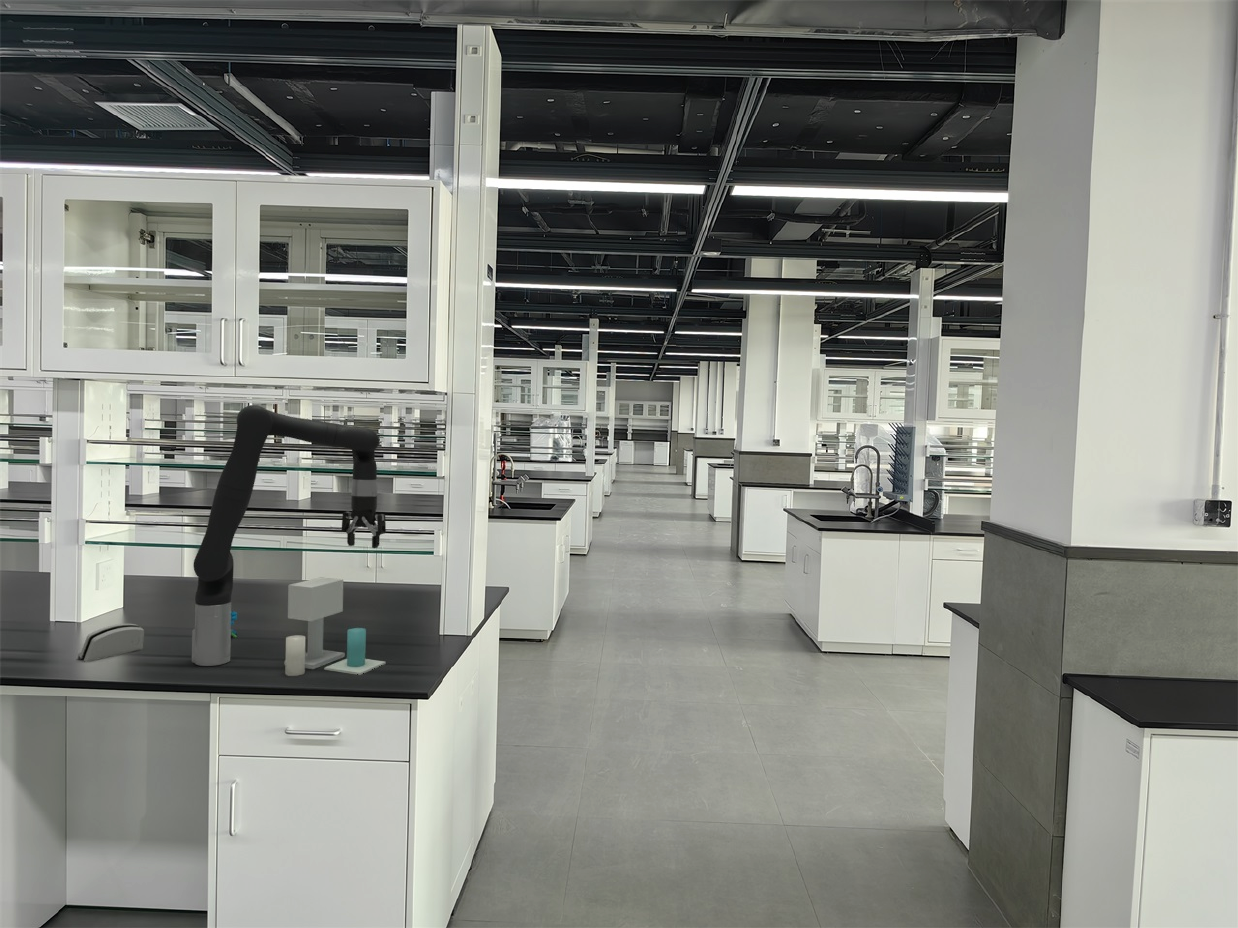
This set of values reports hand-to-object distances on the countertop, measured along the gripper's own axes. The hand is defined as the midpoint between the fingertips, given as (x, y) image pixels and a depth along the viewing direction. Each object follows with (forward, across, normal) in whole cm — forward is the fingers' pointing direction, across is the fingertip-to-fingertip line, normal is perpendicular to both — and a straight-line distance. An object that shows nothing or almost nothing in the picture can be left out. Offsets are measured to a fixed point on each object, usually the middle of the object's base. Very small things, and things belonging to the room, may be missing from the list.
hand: (363, 546), depth 250 cm
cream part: (+32, -2, -27) cm, 42 cm away
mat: (+32, +9, -15) cm, 37 cm away
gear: (+32, -49, -4) cm, 59 cm away
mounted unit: (+32, -5, -15) cm, 36 cm away
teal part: (+32, +9, -15) cm, 36 cm away
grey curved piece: (+32, -61, -34) cm, 77 cm away
